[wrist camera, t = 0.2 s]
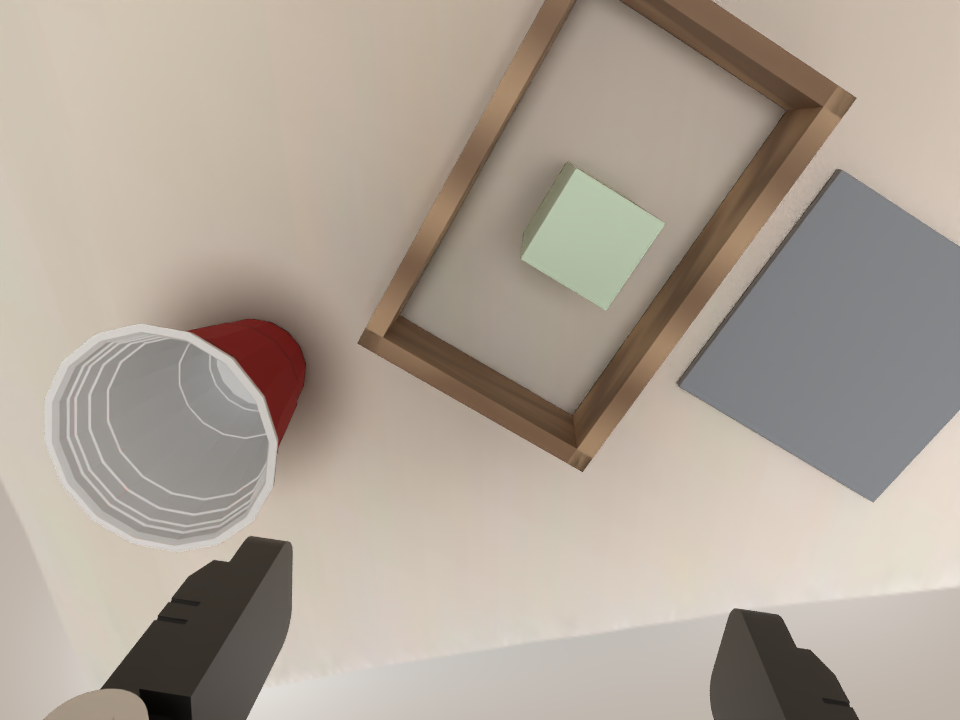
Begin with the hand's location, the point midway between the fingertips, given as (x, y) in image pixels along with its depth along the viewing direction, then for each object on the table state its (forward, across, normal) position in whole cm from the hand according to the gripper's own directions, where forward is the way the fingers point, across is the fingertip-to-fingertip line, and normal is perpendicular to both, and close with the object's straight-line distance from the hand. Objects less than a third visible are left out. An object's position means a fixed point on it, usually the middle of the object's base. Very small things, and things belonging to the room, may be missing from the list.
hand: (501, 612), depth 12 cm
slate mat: (+27, -19, +1) cm, 33 cm away
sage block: (+27, -2, -4) cm, 28 cm away
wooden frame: (+27, -2, -4) cm, 28 cm away
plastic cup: (+27, +16, +7) cm, 32 cm away
